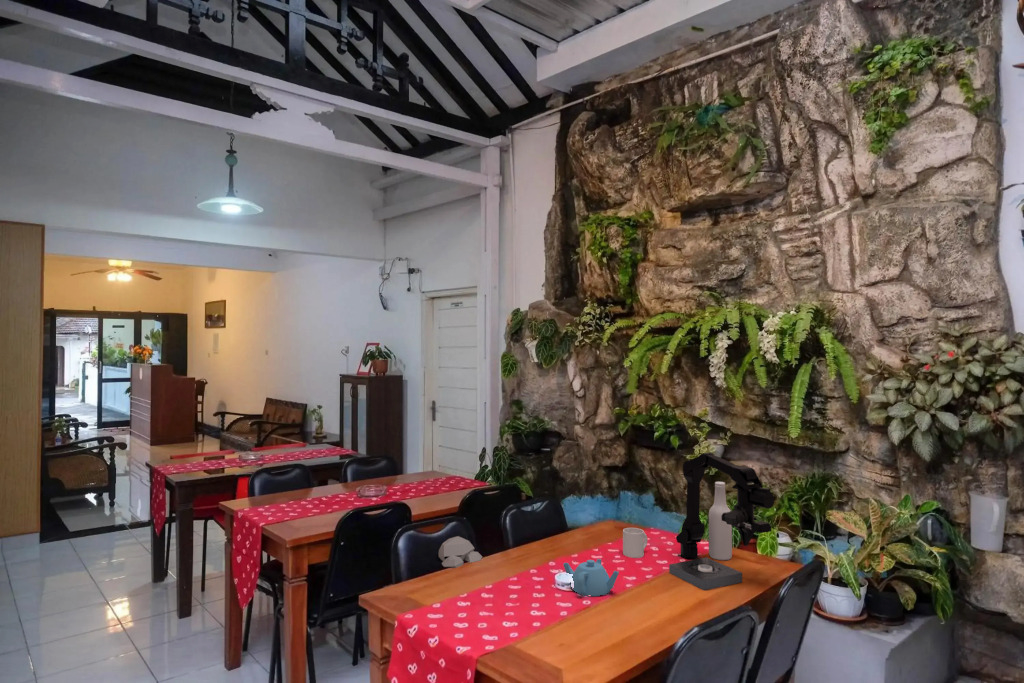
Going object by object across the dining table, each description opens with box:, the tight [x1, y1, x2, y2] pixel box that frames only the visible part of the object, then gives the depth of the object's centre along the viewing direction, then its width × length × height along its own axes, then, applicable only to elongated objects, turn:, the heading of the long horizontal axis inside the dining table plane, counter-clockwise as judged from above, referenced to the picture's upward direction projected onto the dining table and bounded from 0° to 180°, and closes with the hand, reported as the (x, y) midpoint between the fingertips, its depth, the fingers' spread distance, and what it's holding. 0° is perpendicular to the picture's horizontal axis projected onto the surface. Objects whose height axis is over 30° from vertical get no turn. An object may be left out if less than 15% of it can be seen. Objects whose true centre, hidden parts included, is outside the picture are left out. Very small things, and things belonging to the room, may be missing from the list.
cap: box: [698, 565, 712, 572], centre depth 228 cm, size 5×5×4 cm
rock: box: [438, 535, 483, 569], centre depth 241 cm, size 18×20×10 cm
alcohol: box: [708, 481, 733, 561], centre depth 251 cm, size 9×9×30 cm
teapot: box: [562, 558, 620, 597], centre depth 214 cm, size 15×15×11 cm
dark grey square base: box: [668, 557, 743, 591], centre depth 228 cm, size 18×18×4 cm
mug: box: [622, 527, 648, 559], centre depth 253 cm, size 12×8×10 cm
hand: (745, 545), depth 227 cm, fingers closed
